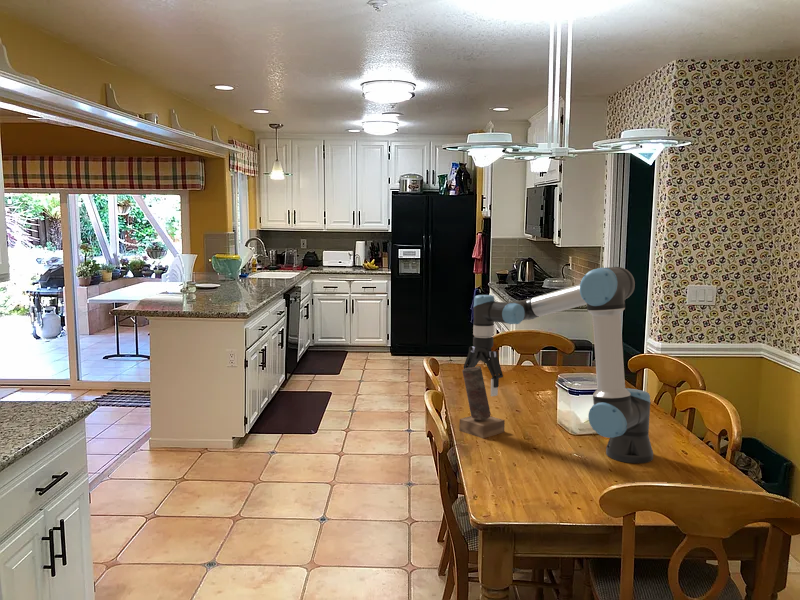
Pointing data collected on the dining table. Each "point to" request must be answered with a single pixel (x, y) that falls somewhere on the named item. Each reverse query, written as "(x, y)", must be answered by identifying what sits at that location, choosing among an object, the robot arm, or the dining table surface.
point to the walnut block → (482, 426)
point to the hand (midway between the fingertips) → (482, 391)
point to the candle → (476, 393)
